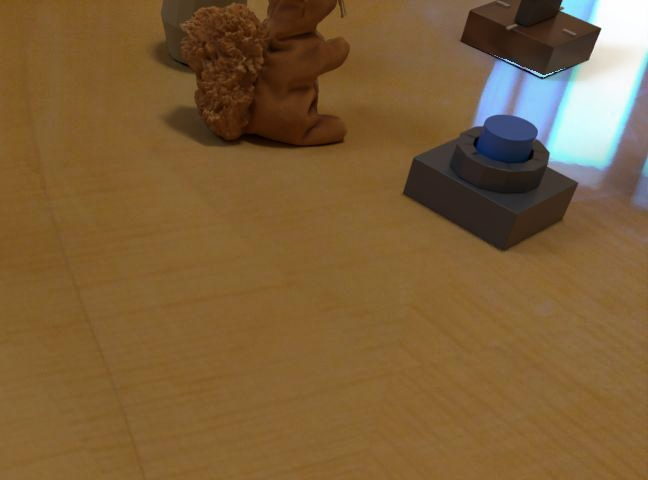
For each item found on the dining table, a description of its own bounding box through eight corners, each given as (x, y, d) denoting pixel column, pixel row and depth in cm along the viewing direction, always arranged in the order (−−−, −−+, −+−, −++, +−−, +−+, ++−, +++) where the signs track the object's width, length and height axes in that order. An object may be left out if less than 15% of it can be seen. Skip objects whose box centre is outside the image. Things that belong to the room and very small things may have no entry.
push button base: (562, 219, 80) (588, 160, 76) (502, 251, 76) (526, 192, 73) (463, 165, 85) (483, 107, 81) (402, 193, 81) (419, 135, 77)
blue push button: (538, 156, 77) (548, 130, 75) (507, 171, 75) (517, 145, 74) (496, 134, 79) (505, 109, 77) (465, 149, 77) (473, 123, 76)
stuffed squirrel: (354, 142, 86) (394, -21, 76) (204, 163, 83) (226, -6, 73) (302, 90, 92) (334, -69, 82) (161, 107, 89) (175, -56, 79)
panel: (592, 57, 100) (606, 25, 98) (538, 80, 96) (551, 47, 94) (510, 21, 105) (521, -11, 102) (456, 42, 101) (466, 9, 98)
